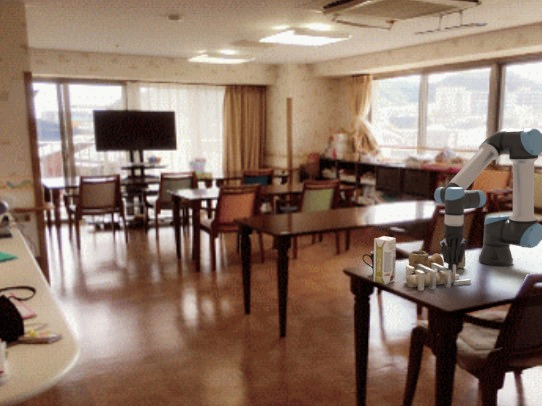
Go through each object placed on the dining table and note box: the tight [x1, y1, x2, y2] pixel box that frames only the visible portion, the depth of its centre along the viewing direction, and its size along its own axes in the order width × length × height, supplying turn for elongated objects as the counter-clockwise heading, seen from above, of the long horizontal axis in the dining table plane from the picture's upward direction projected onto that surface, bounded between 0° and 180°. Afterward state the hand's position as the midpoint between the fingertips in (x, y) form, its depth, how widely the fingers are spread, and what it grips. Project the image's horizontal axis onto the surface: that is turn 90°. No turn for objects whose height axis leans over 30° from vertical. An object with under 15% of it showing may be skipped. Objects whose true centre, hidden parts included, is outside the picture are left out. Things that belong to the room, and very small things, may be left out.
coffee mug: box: [362, 250, 374, 275], centre depth 223 cm, size 12×9×10 cm
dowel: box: [406, 271, 455, 288], centre depth 205 cm, size 20×5×5 cm, turn 106°
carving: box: [457, 250, 466, 269], centre depth 230 cm, size 6×8×12 cm
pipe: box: [408, 250, 445, 273], centre depth 223 cm, size 9×16×10 cm, turn 109°
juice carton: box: [373, 235, 397, 285], centre depth 210 cm, size 8×9×19 cm
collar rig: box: [404, 263, 472, 291], centre depth 206 cm, size 25×12×7 cm, turn 106°
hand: (452, 279), depth 208 cm, fingers closed
